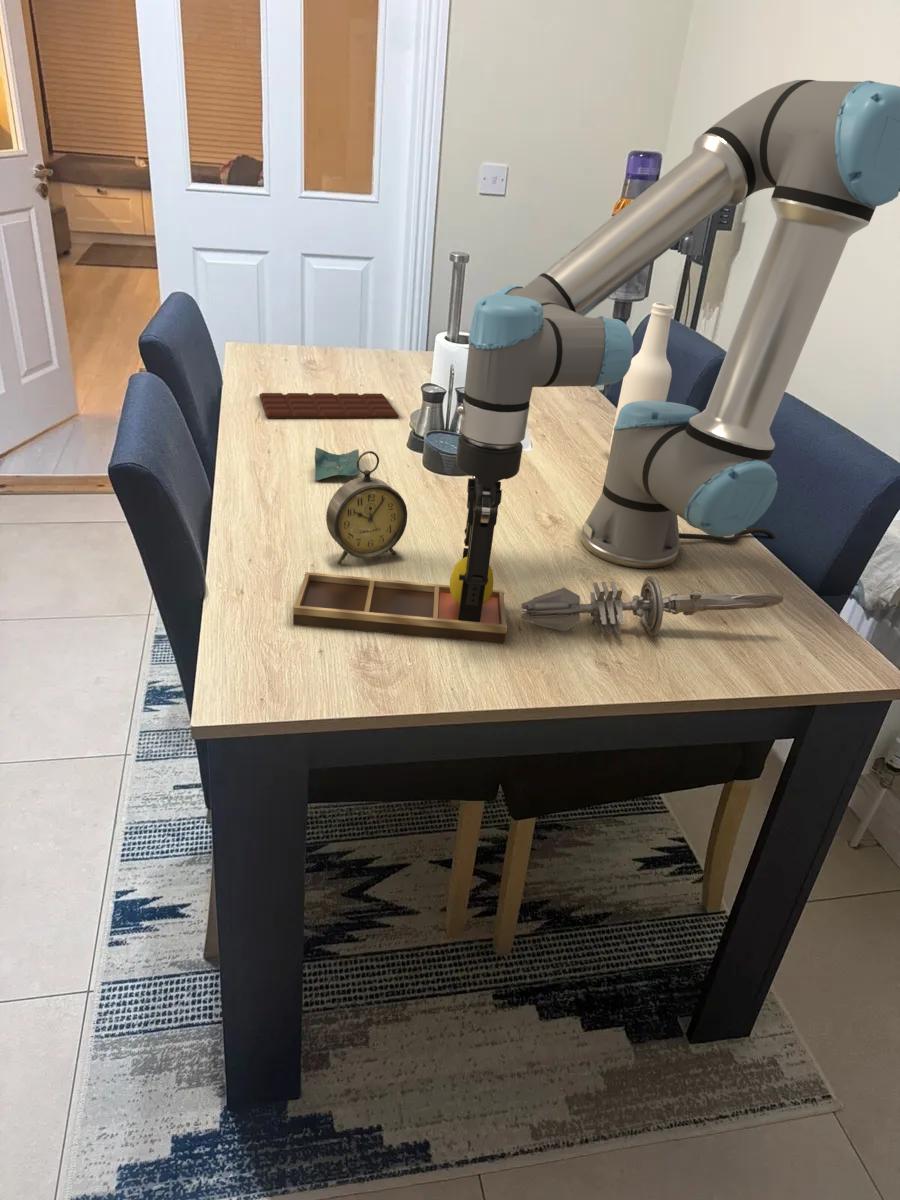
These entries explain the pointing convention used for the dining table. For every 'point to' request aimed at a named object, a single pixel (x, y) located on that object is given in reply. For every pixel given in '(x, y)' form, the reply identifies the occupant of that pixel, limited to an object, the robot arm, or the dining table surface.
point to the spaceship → (632, 606)
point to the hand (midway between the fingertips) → (468, 607)
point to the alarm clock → (366, 516)
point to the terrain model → (335, 464)
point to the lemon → (457, 584)
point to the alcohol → (649, 363)
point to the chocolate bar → (327, 405)
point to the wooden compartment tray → (394, 608)
